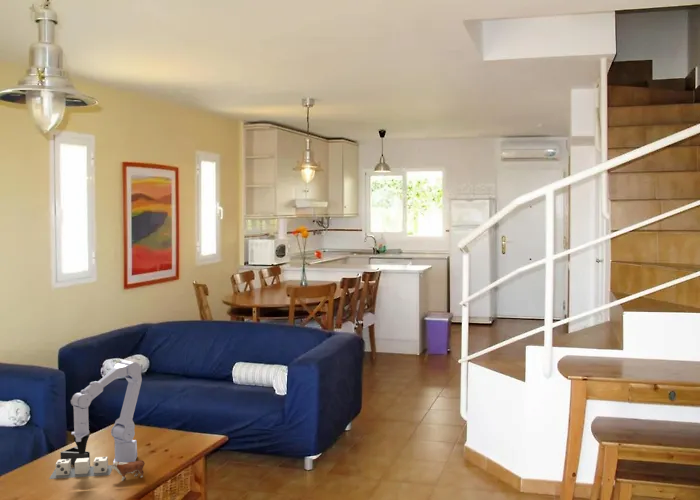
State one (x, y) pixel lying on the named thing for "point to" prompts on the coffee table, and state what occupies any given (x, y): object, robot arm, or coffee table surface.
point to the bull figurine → (129, 468)
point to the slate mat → (72, 474)
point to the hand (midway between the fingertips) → (82, 453)
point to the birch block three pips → (63, 467)
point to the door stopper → (74, 455)
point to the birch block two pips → (100, 464)
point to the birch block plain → (82, 466)
